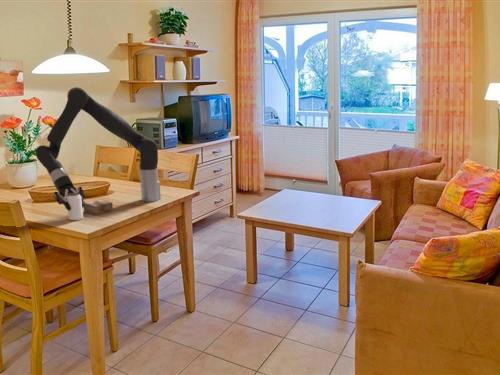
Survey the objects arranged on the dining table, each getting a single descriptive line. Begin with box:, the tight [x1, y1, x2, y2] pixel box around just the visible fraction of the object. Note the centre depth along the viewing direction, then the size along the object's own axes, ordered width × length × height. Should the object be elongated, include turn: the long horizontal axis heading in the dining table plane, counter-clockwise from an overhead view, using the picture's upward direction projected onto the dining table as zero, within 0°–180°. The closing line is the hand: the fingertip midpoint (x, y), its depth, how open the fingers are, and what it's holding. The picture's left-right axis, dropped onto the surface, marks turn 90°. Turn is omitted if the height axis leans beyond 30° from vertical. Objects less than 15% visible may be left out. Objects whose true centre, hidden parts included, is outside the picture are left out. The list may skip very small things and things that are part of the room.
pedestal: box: [83, 199, 114, 216], centre depth 240 cm, size 10×10×4 cm
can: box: [67, 192, 84, 222], centre depth 226 cm, size 6×6×12 cm
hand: (76, 207), depth 225 cm, fingers closed on can, 6 cm apart
